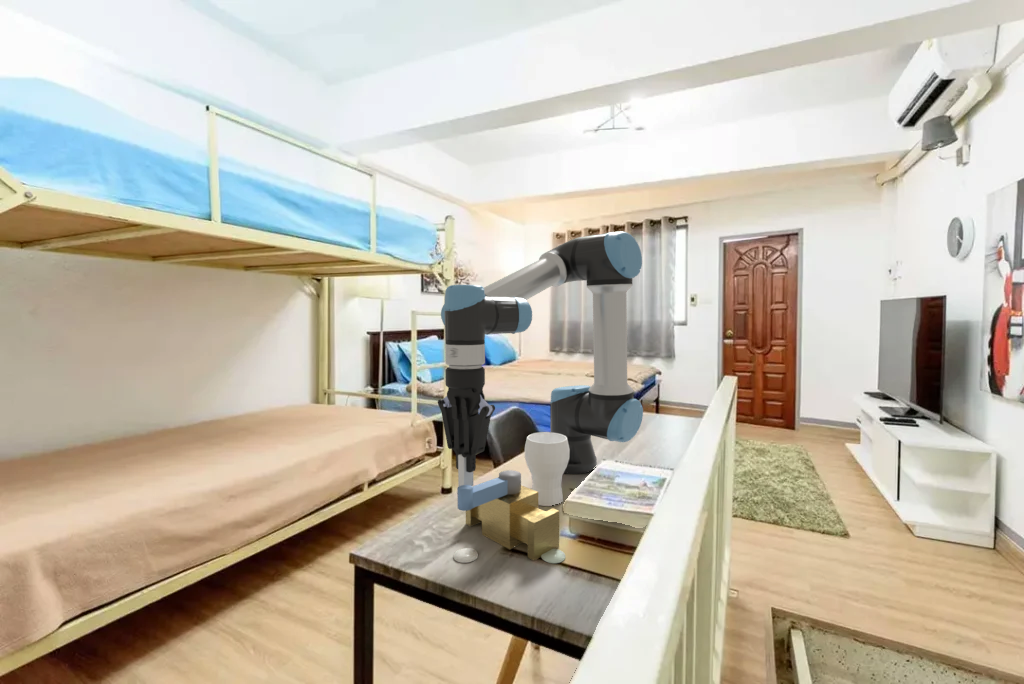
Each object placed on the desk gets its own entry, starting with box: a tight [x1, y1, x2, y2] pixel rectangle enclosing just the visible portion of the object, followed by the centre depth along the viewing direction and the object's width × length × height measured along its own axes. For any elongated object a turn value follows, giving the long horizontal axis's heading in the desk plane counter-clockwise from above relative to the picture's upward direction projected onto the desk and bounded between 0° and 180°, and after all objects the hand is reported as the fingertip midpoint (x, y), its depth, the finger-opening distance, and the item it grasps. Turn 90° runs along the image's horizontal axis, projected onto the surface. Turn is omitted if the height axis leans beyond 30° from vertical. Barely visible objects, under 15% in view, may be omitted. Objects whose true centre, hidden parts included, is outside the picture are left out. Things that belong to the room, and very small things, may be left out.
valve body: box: [465, 484, 560, 562], centre depth 89 cm, size 20×8×9 cm, turn 44°
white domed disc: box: [453, 547, 479, 564], centre depth 82 cm, size 4×4×1 cm
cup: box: [524, 431, 570, 507], centre depth 106 cm, size 11×11×15 cm
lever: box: [456, 469, 522, 512], centre depth 85 cm, size 15×4×4 cm, turn 134°
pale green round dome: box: [540, 548, 566, 564], centre depth 82 cm, size 4×4×1 cm
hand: (466, 486), depth 87 cm, fingers closed
